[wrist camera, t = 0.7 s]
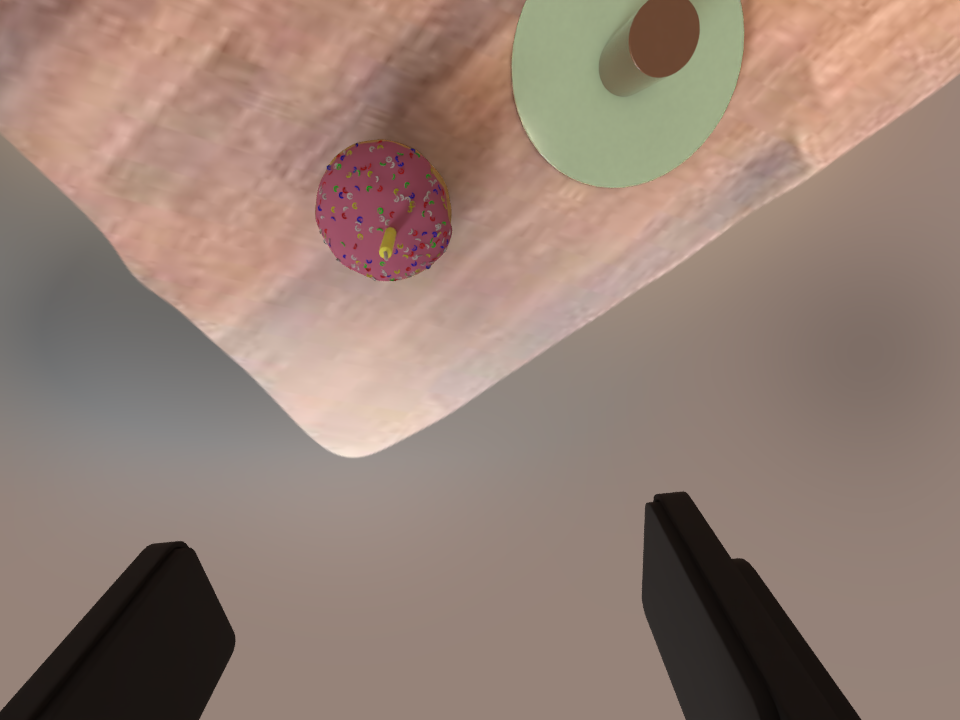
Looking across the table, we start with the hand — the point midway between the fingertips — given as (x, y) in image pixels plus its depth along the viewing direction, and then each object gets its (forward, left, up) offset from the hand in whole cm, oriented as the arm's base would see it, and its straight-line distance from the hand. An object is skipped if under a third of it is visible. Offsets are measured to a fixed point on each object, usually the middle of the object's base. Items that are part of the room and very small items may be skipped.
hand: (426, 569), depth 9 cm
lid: (-11, +14, -27) cm, 32 cm away
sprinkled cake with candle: (-6, -3, -27) cm, 28 cm away
